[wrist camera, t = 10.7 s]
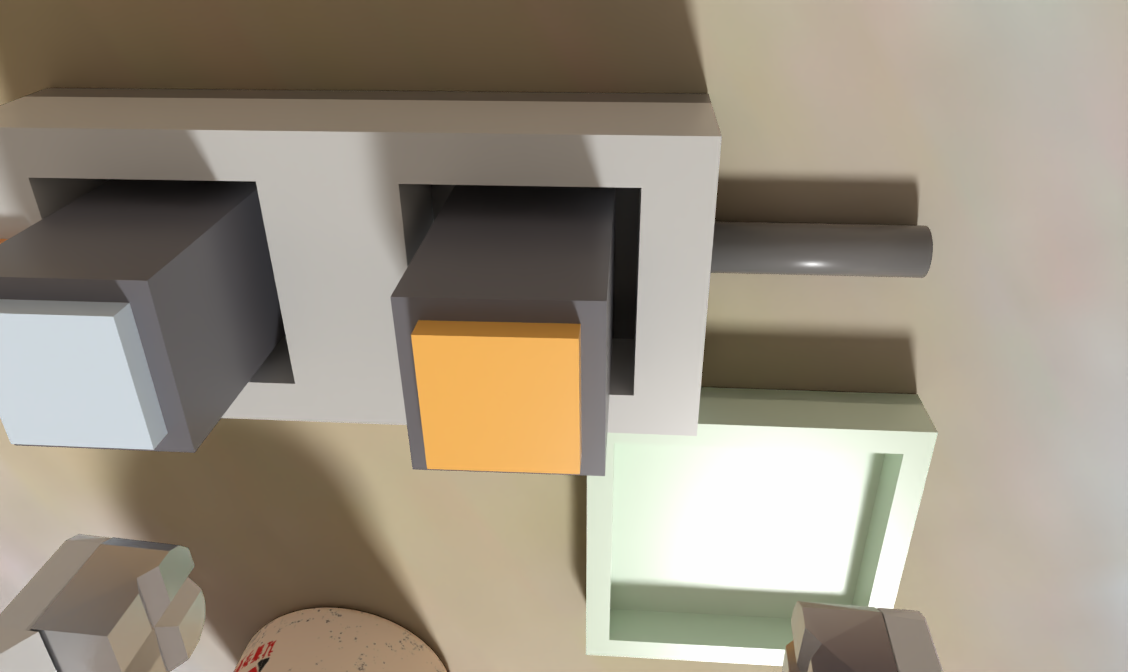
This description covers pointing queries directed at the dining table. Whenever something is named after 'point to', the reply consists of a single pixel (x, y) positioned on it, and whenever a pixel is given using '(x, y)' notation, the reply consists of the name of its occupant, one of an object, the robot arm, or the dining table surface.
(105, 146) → the power strip
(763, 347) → the dining table surface
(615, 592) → the tray
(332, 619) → the teacup with lid
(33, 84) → the dining table surface
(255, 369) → the dark grey block
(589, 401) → the plug
